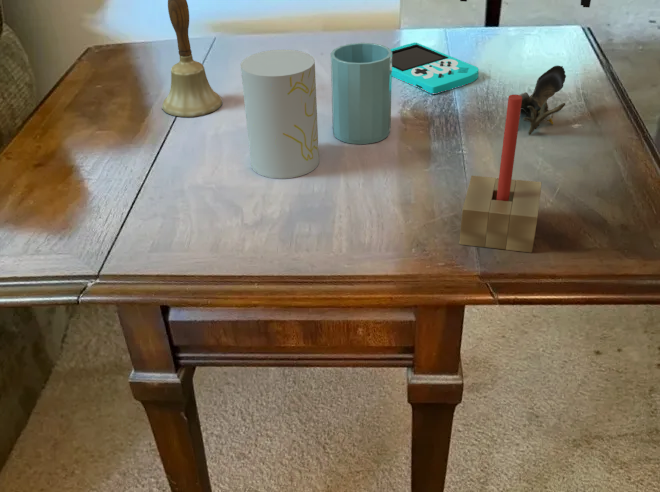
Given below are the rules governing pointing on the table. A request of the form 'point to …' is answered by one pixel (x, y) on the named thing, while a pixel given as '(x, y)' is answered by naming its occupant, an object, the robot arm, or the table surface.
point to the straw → (509, 147)
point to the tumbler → (361, 92)
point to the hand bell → (187, 73)
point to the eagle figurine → (543, 97)
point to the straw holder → (500, 215)
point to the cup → (281, 112)
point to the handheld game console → (430, 68)
